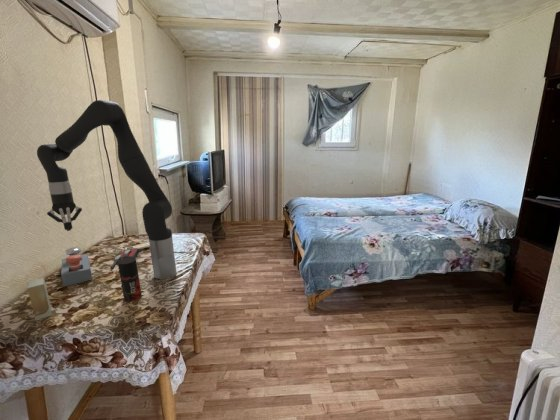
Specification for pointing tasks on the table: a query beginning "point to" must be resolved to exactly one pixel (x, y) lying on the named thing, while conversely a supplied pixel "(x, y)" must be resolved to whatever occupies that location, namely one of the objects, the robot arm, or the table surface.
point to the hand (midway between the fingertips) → (69, 230)
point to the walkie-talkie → (126, 255)
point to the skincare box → (39, 298)
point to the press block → (76, 272)
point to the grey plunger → (73, 251)
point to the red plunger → (74, 262)
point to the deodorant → (129, 279)
